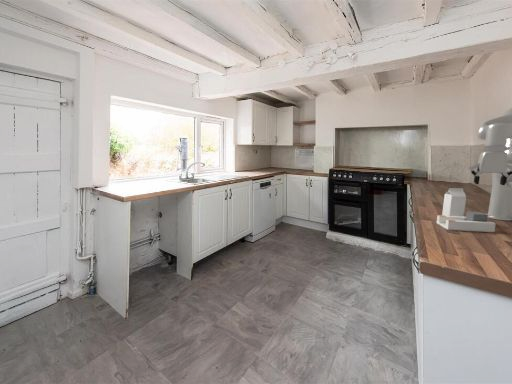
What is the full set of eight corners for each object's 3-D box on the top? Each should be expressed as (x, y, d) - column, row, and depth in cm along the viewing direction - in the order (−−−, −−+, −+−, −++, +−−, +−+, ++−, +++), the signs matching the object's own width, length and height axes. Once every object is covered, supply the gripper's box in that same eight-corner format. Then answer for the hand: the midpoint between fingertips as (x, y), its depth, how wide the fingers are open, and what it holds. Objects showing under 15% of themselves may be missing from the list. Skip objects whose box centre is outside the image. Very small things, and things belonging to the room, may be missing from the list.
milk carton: (462, 222, 134) (467, 189, 131) (448, 222, 135) (452, 189, 132) (455, 219, 141) (459, 187, 137) (441, 218, 142) (445, 187, 139)
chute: (478, 225, 129) (479, 216, 128) (494, 232, 118) (496, 222, 117) (436, 223, 134) (437, 214, 133) (448, 229, 122) (449, 220, 121)
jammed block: (478, 224, 126) (480, 212, 125) (485, 227, 121) (487, 214, 120) (464, 223, 128) (466, 211, 127) (471, 227, 122) (473, 214, 121)
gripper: (514, 149, 115) (509, 184, 118) (468, 149, 123) (464, 182, 126) (523, 149, 109) (516, 186, 112) (474, 149, 116) (469, 184, 119)
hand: (489, 184), depth 119 cm, fingers open, 9 cm apart
